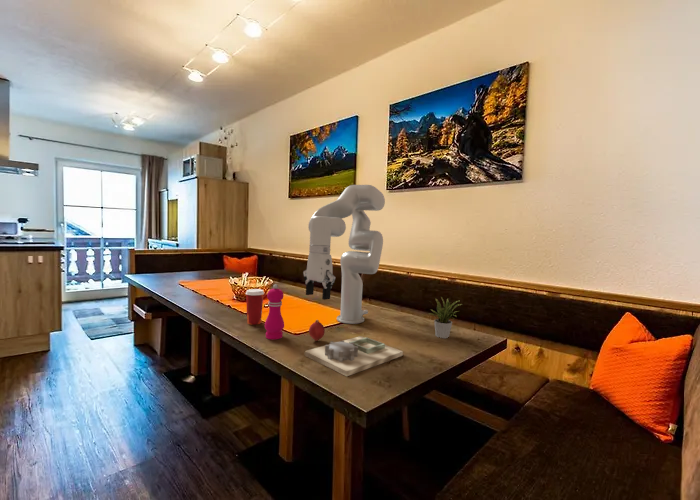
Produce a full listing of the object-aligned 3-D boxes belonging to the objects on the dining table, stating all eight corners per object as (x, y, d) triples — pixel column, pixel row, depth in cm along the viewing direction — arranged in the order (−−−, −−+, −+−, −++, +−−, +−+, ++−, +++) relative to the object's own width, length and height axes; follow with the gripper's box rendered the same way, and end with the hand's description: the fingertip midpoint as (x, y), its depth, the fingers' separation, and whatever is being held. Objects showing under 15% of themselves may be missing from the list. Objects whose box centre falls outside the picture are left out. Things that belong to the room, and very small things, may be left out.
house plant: (470, 337, 139) (472, 297, 138) (454, 345, 129) (457, 302, 128) (438, 329, 149) (440, 292, 148) (421, 335, 139) (423, 295, 137)
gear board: (360, 339, 130) (360, 328, 130) (402, 355, 116) (403, 342, 115) (304, 355, 112) (305, 342, 112) (346, 376, 98) (347, 361, 97)
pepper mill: (279, 341, 125) (280, 286, 124) (260, 338, 126) (262, 285, 125) (286, 335, 132) (288, 283, 131) (269, 333, 134) (270, 282, 132)
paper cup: (267, 322, 148) (268, 290, 147) (253, 326, 141) (254, 292, 140) (254, 319, 152) (255, 288, 151) (240, 323, 145) (241, 290, 144)
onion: (308, 338, 130) (309, 317, 129) (324, 338, 130) (325, 317, 129) (308, 343, 124) (309, 321, 123) (324, 343, 124) (325, 322, 124)
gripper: (343, 252, 121) (341, 300, 122) (313, 248, 133) (311, 292, 134) (327, 252, 116) (324, 302, 117) (297, 248, 128) (295, 294, 129)
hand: (317, 296), depth 125 cm, fingers open, 9 cm apart
